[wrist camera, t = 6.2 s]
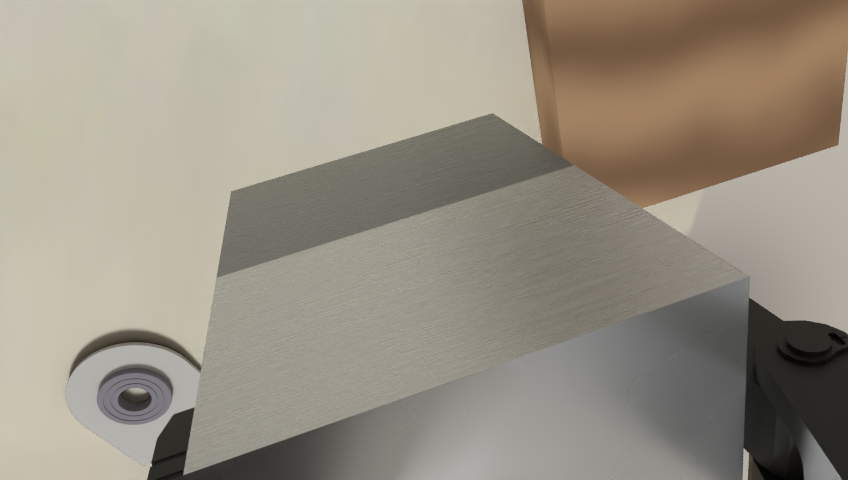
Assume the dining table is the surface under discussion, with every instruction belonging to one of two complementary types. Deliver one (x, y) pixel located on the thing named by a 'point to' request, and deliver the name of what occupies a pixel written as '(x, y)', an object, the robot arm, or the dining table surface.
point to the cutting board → (686, 87)
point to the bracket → (122, 369)
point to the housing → (466, 325)
